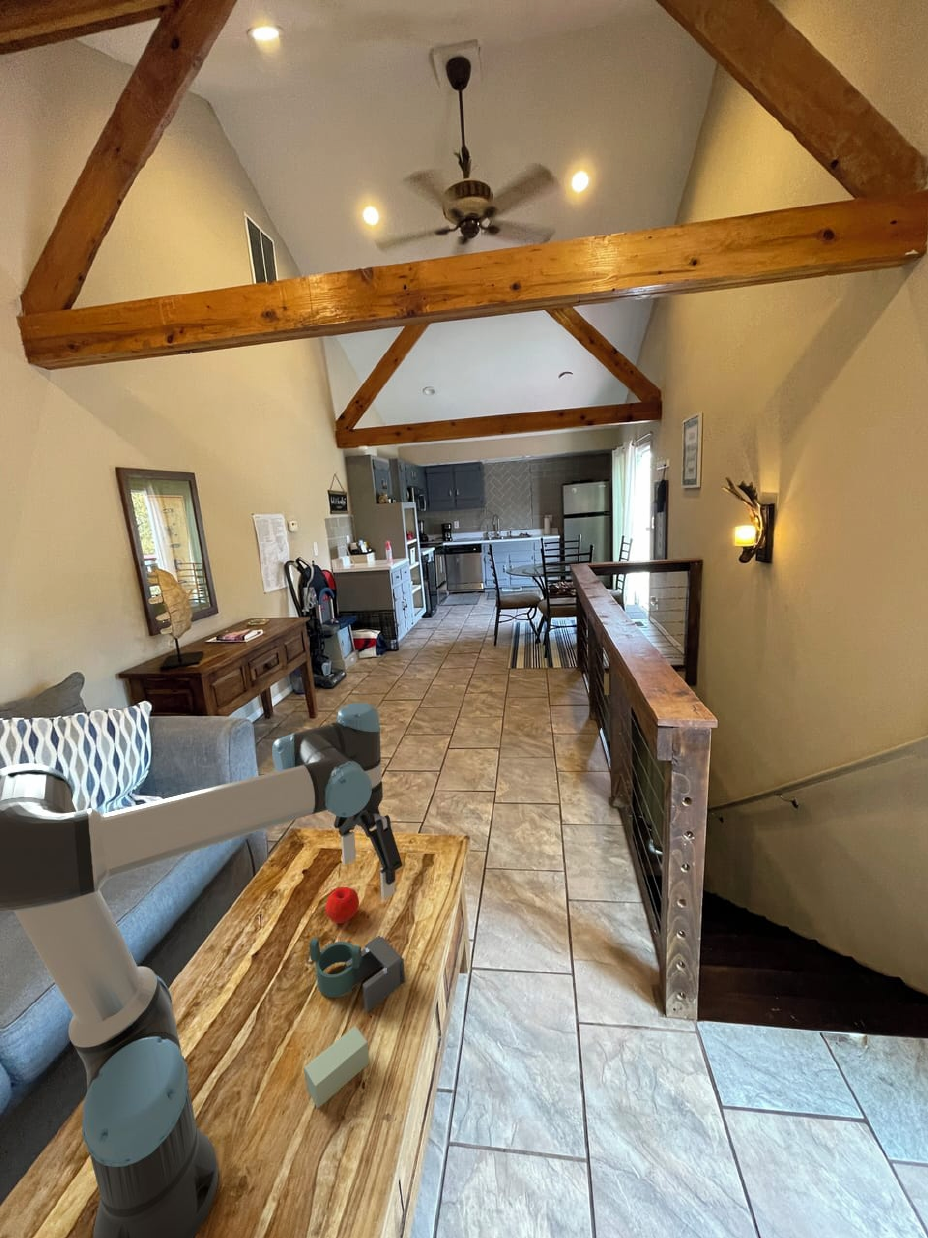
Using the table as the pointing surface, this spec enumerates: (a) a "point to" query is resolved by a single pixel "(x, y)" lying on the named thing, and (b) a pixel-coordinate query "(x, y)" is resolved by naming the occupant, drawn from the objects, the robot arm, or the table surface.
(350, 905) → the apple
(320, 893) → the table surface
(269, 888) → the table surface
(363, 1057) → the block
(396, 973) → the endcap
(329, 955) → the bracket
